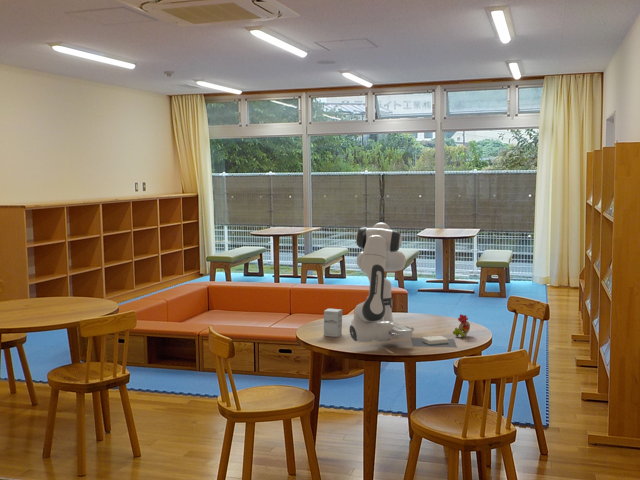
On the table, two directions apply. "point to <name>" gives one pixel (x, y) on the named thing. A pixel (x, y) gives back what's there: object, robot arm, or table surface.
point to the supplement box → (333, 322)
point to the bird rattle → (462, 326)
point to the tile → (434, 340)
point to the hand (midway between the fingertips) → (412, 328)
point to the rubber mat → (421, 344)
